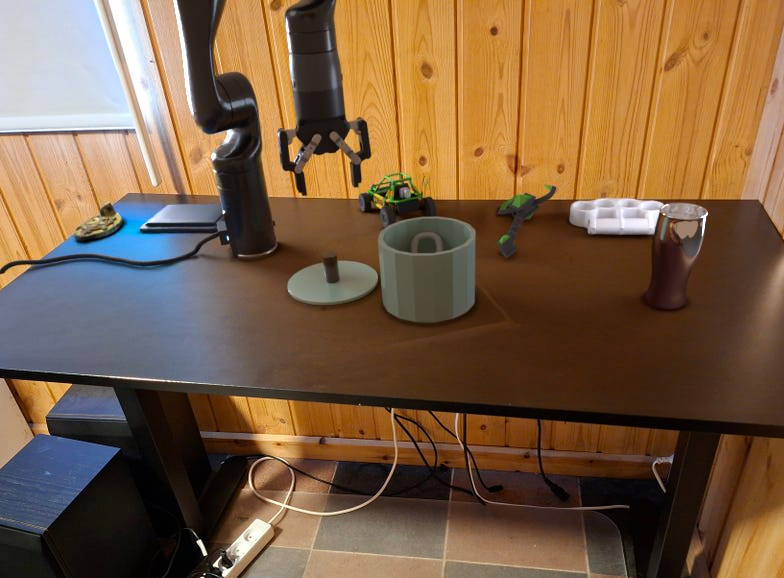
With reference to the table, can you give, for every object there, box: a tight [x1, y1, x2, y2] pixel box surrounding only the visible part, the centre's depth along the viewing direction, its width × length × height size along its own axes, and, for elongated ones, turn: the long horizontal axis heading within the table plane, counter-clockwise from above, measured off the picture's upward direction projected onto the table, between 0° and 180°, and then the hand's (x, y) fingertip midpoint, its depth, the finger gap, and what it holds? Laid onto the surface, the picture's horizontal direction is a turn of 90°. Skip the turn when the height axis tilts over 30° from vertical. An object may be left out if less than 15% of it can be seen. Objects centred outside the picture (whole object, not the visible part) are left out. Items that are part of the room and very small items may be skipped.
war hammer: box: [496, 184, 557, 259], centre depth 127 cm, size 6×13×30 cm
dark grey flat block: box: [139, 203, 224, 233], centre depth 146 cm, size 20×2×15 cm
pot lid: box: [287, 251, 379, 306], centre depth 111 cm, size 16×16×6 cm
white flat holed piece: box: [569, 197, 665, 236], centre depth 126 cm, size 3×18×15 cm
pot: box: [377, 216, 476, 323], centre depth 103 cm, size 15×15×12 cm
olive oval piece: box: [74, 201, 124, 241], centre depth 144 cm, size 9×5×15 cm
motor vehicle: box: [358, 172, 438, 229], centre depth 136 cm, size 12×19×11 cm, turn 23°
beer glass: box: [644, 202, 709, 311], centre depth 97 cm, size 7×7×15 cm
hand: (329, 190), depth 103 cm, fingers open, 8 cm apart
